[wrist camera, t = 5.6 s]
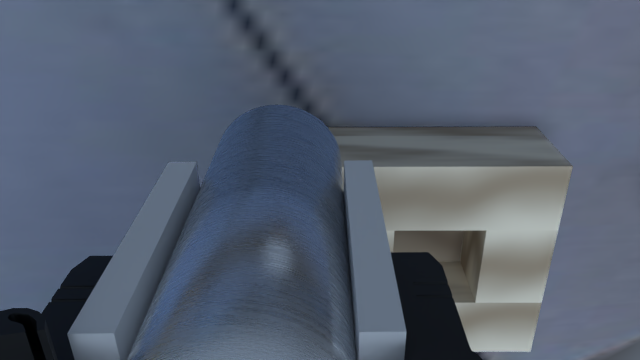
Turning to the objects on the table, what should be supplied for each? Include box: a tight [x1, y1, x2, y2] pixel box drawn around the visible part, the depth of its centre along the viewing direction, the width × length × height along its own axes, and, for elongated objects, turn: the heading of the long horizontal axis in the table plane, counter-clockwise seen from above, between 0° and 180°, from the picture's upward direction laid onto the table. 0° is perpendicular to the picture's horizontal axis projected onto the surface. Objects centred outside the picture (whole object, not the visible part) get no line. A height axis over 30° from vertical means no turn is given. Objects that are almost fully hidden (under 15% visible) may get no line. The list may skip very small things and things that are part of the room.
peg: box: [127, 105, 357, 360], centre depth 11 cm, size 4×4×14 cm
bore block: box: [328, 127, 573, 352], centre depth 36 cm, size 14×14×6 cm
